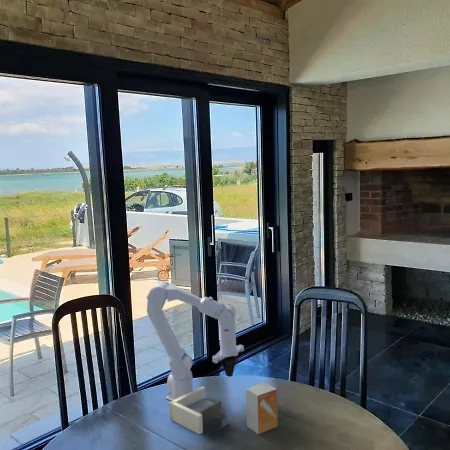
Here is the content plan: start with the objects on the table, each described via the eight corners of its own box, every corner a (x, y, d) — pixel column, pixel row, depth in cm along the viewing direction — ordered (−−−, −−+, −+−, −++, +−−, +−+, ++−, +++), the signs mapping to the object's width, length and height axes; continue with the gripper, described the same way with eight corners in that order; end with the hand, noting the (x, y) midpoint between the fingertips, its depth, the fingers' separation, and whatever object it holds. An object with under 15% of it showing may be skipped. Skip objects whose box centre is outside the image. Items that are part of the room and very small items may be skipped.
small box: (258, 435, 146) (257, 395, 144) (246, 426, 151) (245, 388, 150) (278, 426, 150) (277, 388, 149) (266, 418, 155) (265, 381, 154)
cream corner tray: (170, 419, 157) (169, 402, 157) (202, 402, 168) (201, 386, 168) (199, 434, 147) (198, 416, 147) (232, 415, 158) (231, 398, 158)
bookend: (200, 431, 149) (199, 410, 148) (219, 420, 155) (218, 400, 155) (209, 435, 146) (208, 414, 146) (228, 424, 153) (227, 404, 152)
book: (178, 419, 158) (178, 411, 158) (204, 406, 166) (204, 398, 166) (196, 428, 152) (195, 420, 151) (222, 414, 160) (221, 406, 160)
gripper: (221, 347, 158) (223, 385, 160) (249, 336, 169) (250, 371, 170) (207, 343, 163) (209, 380, 165) (235, 331, 174) (236, 366, 175)
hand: (229, 375), depth 168 cm, fingers closed
